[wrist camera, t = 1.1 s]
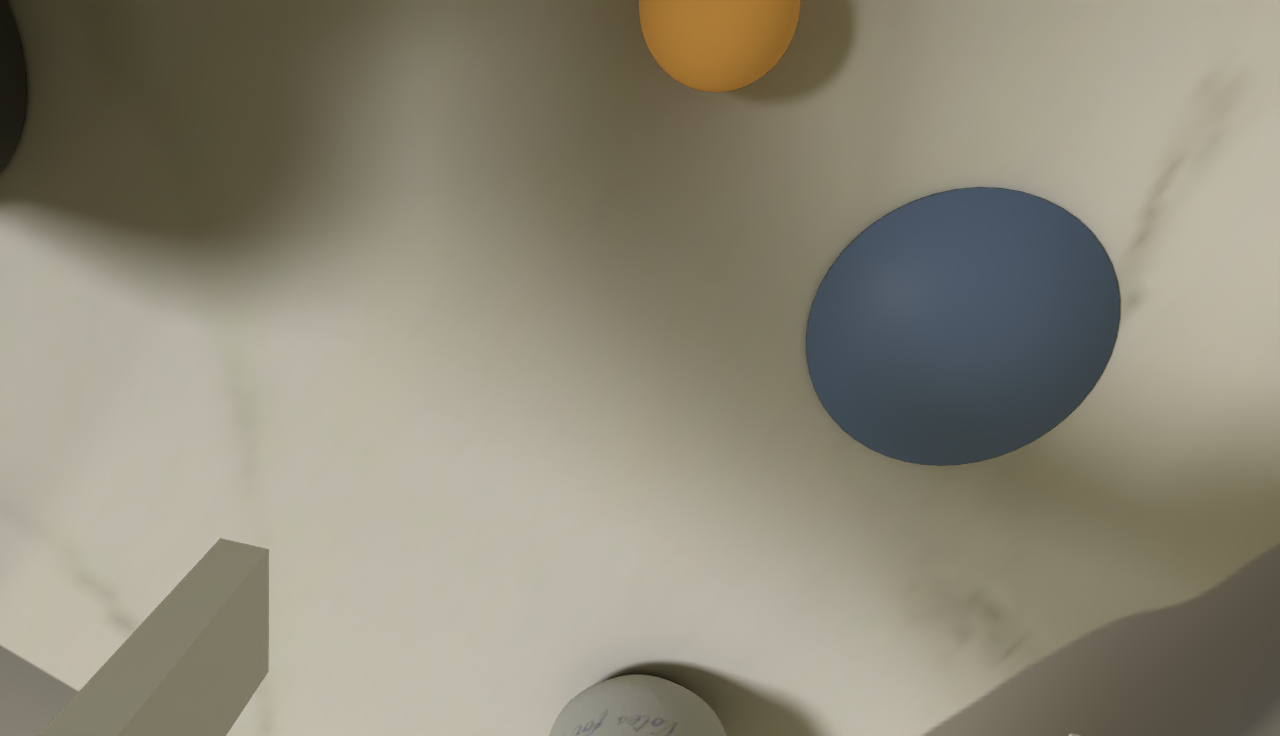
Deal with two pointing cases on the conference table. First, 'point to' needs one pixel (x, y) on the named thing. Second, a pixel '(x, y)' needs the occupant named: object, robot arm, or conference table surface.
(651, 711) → the teacup
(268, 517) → the conference table surface
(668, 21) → the ball
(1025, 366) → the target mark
